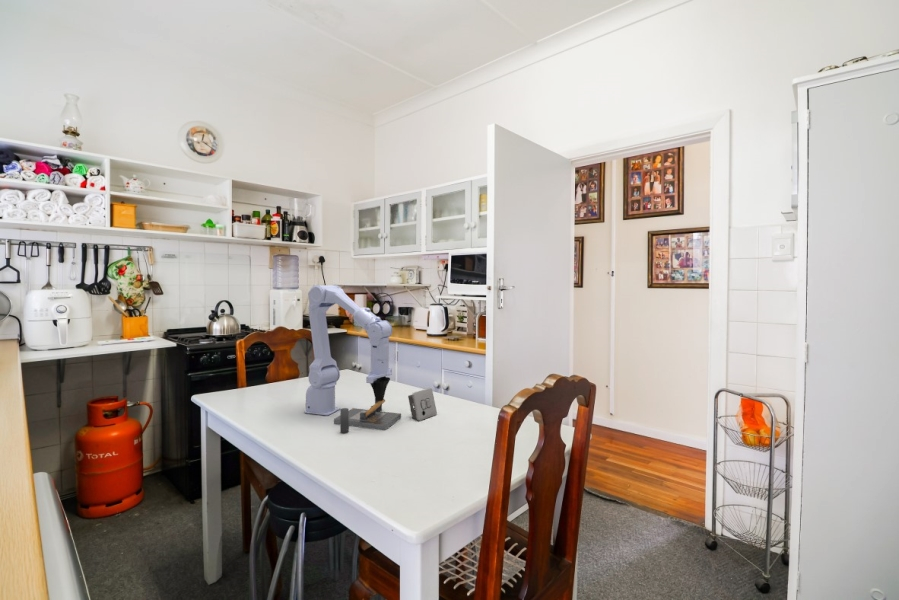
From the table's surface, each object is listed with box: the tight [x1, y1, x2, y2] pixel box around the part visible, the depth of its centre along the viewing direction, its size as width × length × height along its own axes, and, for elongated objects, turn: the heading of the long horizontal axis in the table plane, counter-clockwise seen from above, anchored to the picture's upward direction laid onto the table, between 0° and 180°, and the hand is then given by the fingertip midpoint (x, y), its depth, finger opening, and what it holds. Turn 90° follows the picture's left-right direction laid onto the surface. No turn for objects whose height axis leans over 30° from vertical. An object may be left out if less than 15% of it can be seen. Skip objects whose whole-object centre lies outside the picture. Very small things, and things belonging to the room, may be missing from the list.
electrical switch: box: [407, 387, 438, 422], centre depth 147 cm, size 9×5×9 cm, turn 141°
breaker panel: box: [333, 405, 402, 431], centre depth 141 cm, size 18×12×4 cm, turn 73°
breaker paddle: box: [365, 398, 386, 417], centre depth 141 cm, size 2×6×7 cm
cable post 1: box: [339, 407, 350, 435], centre depth 131 cm, size 2×2×7 cm
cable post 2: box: [374, 398, 383, 412], centre depth 153 cm, size 2×2×7 cm
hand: (379, 400), depth 140 cm, fingers closed
